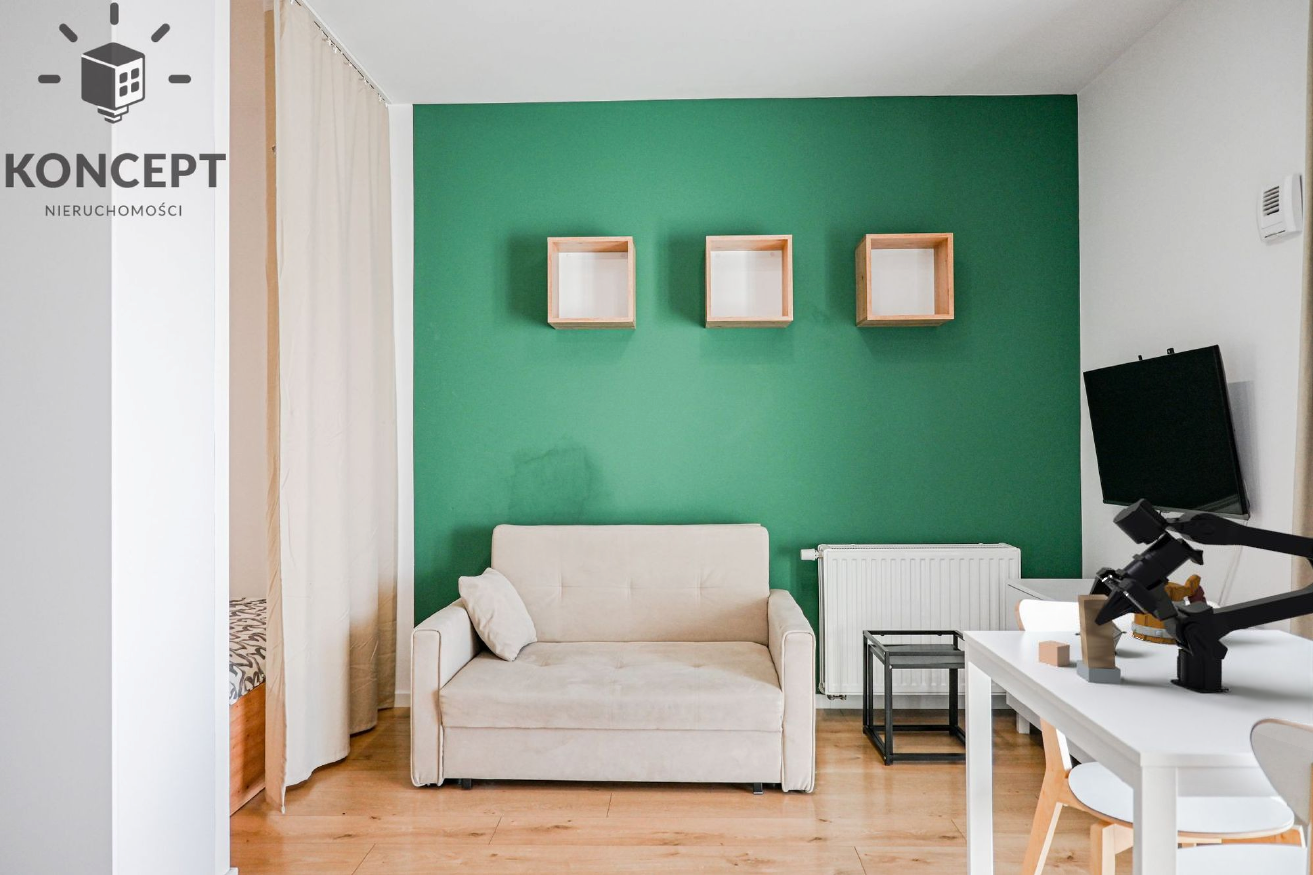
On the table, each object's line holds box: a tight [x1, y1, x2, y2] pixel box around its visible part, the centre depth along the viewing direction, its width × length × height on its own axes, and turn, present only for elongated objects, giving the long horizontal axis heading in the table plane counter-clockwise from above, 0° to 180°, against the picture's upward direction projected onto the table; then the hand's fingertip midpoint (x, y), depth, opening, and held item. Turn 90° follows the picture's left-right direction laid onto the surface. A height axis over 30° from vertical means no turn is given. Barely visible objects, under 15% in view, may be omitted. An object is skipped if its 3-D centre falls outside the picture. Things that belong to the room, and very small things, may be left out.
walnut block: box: [1077, 594, 1117, 668], centre depth 147 cm, size 4×4×12 cm
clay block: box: [1038, 640, 1071, 667], centre depth 158 cm, size 4×4×4 cm
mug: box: [1130, 573, 1208, 645], centre depth 180 cm, size 11×16×15 cm, turn 88°
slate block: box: [1076, 659, 1122, 685], centre depth 147 cm, size 6×6×3 cm
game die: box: [1074, 620, 1128, 655], centre depth 167 cm, size 9×8×10 cm
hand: (1089, 618), depth 148 cm, fingers open, 9 cm apart
